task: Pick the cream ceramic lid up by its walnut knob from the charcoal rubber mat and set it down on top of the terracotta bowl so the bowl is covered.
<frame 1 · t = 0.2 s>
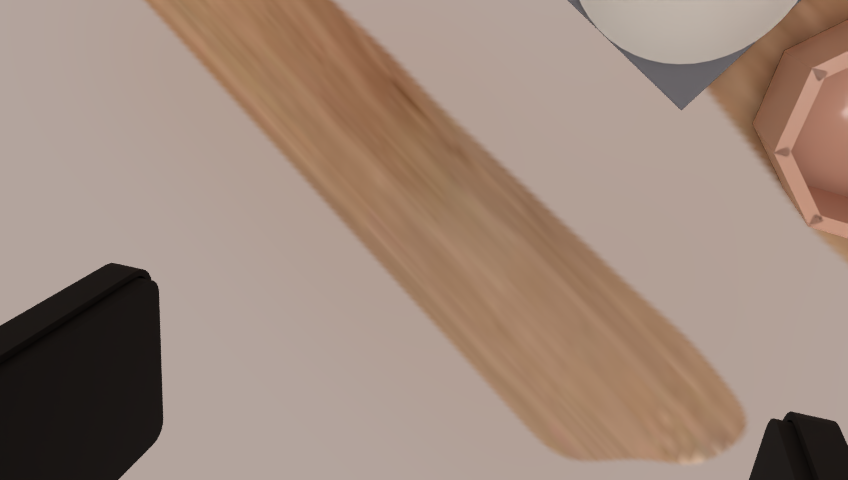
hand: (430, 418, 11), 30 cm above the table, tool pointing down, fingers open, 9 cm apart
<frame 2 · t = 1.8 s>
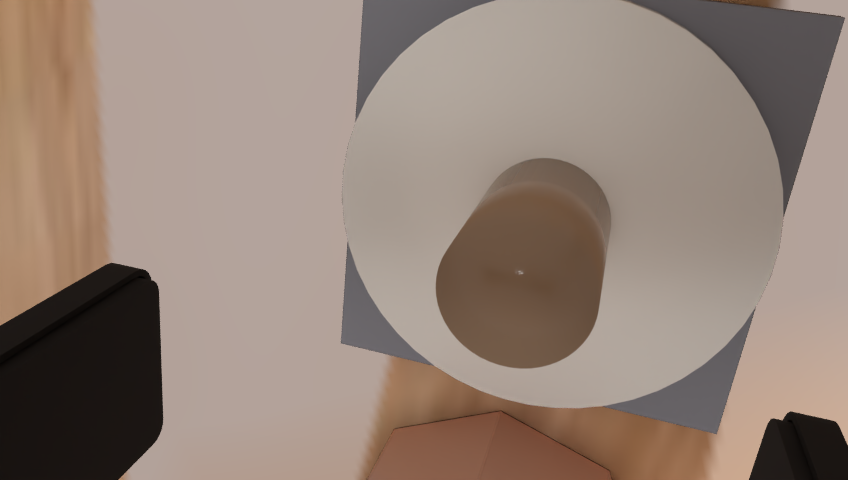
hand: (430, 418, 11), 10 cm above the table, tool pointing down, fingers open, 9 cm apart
lid: (549, 208, 19), resting on mat
mat: (552, 202, 20), on the table
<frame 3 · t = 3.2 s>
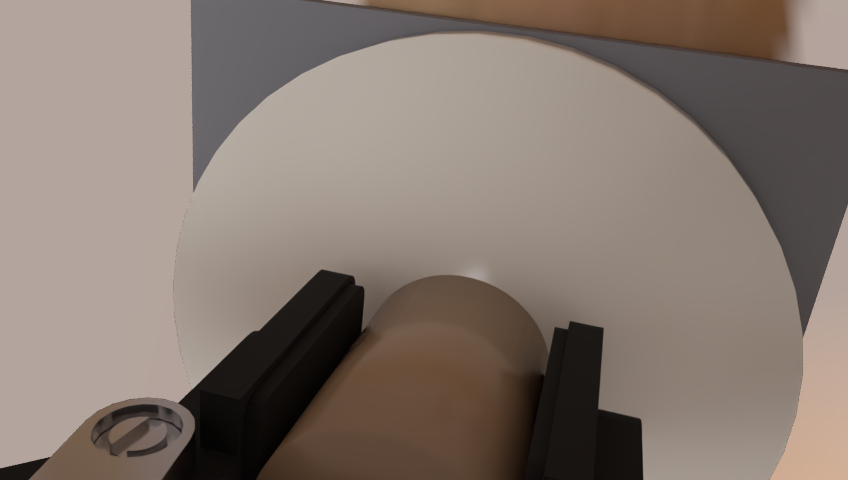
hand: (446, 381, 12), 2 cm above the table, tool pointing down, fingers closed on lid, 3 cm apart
lid: (467, 334, 14), point 1 cm above the table, touching gripper, mat
mat: (469, 323, 14), on the table
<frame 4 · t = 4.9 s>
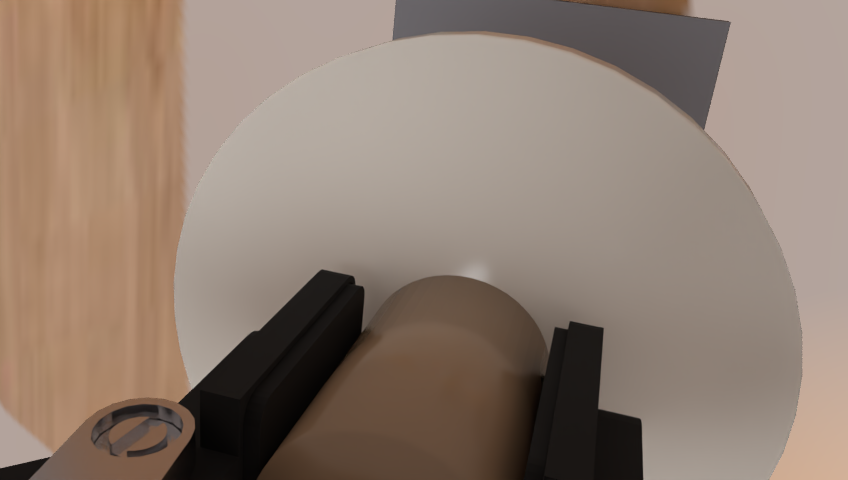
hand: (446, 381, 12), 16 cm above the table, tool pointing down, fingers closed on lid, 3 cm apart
lid: (467, 335, 14), point 15 cm above the table, touching gripper
mat: (532, 157, 27), on the table
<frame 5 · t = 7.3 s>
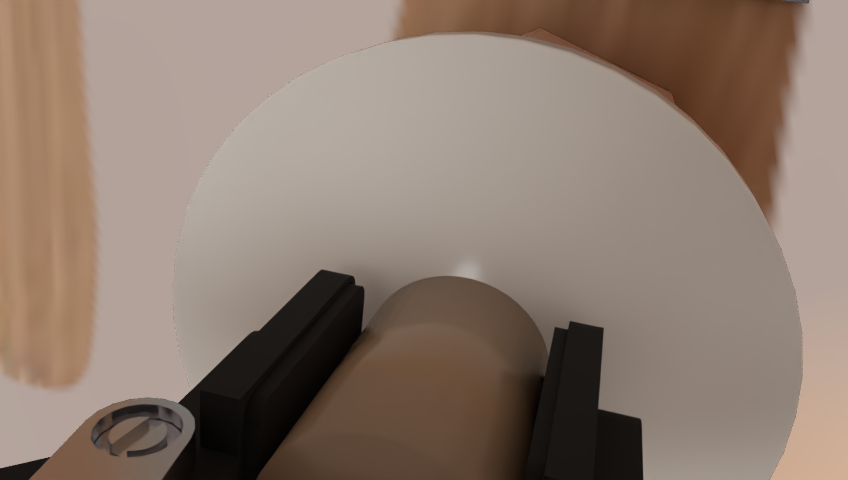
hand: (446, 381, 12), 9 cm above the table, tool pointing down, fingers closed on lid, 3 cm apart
lid: (466, 335, 14), point 8 cm above the table, touching gripper
bowl: (526, 206, 21), on the table
when the fingers open (9 cm above the table, at t = 7.7 s): lid stays where it is, resting on bowl.
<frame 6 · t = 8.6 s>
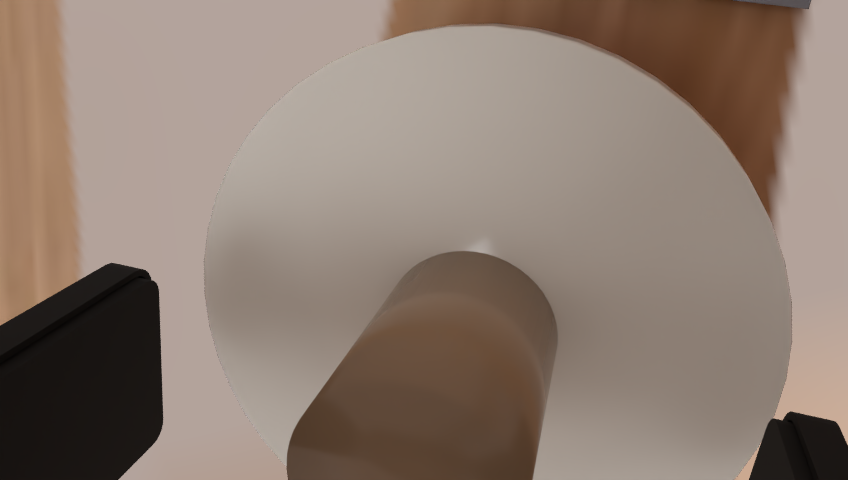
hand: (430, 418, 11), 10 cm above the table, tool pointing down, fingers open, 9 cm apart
lid: (479, 309, 15), point 6 cm above the table, touching bowl
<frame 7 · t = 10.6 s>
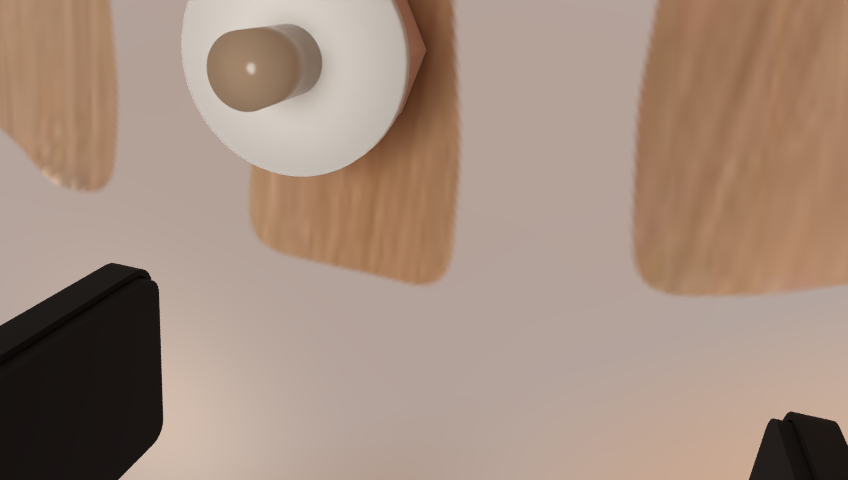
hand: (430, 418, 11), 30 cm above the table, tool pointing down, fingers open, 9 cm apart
lid: (297, 58, 35), point 6 cm above the table, touching bowl
bowl: (340, 48, 40), on the table
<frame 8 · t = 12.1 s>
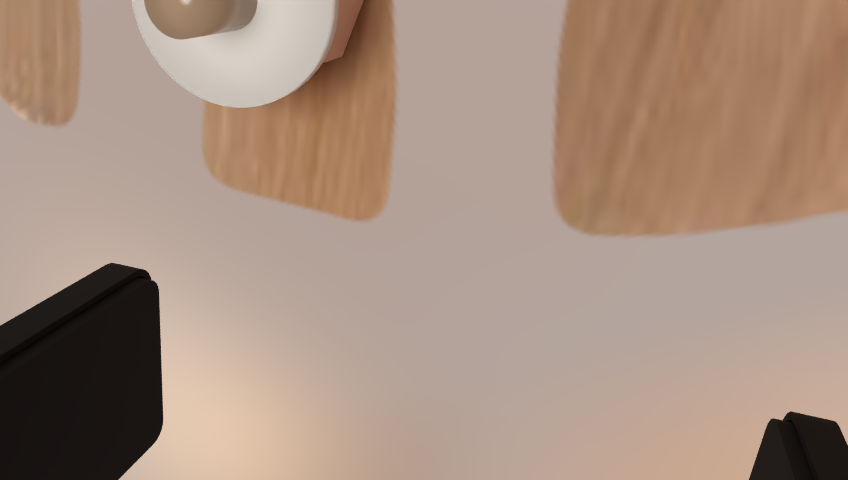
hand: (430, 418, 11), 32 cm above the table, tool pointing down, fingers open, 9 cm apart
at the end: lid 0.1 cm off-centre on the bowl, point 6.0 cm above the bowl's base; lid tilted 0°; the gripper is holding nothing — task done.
